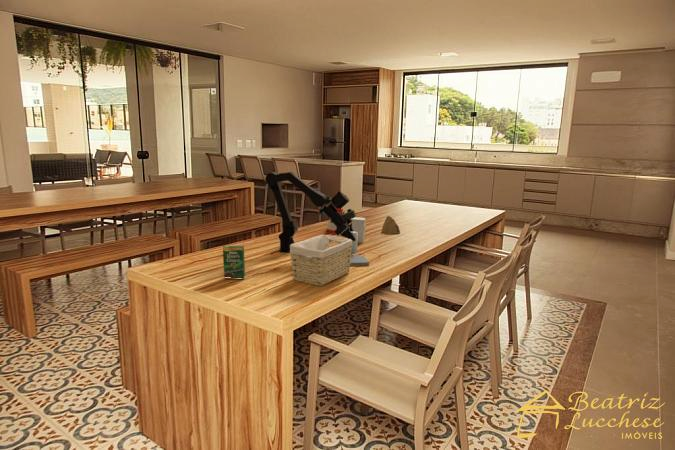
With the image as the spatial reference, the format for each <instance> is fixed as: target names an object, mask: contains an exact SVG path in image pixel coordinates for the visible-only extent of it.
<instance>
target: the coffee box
mask: <svg viewBox="0 0 675 450" xmlns="http://www.w3.org/2000/svg"><path fill="white" fill-rule="evenodd" d="M244 246H245V245H223V246H222V258H223V260H222V261H223V278H224V277H231V278H244V277H246V271H245V270H246V268H245V266H246V265H245V247H244ZM244 279H245V278H244Z"/></svg>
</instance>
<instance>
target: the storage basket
mask: <svg viewBox="0 0 675 450" xmlns="http://www.w3.org/2000/svg"><path fill="white" fill-rule="evenodd" d="M330 243H335V244H336V245H332V246H330ZM351 250H352V240H351V239H348V238H346V237H340V236H334V235H329V234H328V235H327V234H320V235H319V234H318V235H316V236H312V237H310V238H307V239H304V240H301V241H297V242H294V244H291V245H290V252H289V254H290V260H291V270H292V278H293V280H294V281H298V282H301V283H305V284H310V285H314V286H321V287H323V286H325V285H327V284H328V283H330V282H333V281H334V280H336V279H339V278H340V277H342V276H344V275H347V274H348V273H349V272H350V269H351V268H350V267H351V266H350V259H351V255H352V254H351Z"/></svg>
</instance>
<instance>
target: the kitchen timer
mask: <svg viewBox="0 0 675 450" xmlns="http://www.w3.org/2000/svg"><path fill="white" fill-rule="evenodd" d="M334 207H335V206H334ZM335 208H336V207H335ZM336 209H337V208H336ZM337 210H338V211H339V212H342V213H343V214H344V213H346V212H345V210H344V209H343V208H341V209H340V208H338V209H337ZM330 221H331V220H330V219H329V220H328V223H327V227H326V231H327V233H331V234H332V233H333V234H335V230H336V226H335V225H334V224H333V222H332V223H331V222H330Z"/></svg>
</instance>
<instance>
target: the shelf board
mask: <svg viewBox="0 0 675 450" xmlns="http://www.w3.org/2000/svg"><path fill="white" fill-rule="evenodd" d="M351 266H352V267H356V266H357V267H358V266H361V267H363V266H370V262H369V260H368V259H367V258H366V256H364V255H363V254H351V259H350V267H351Z"/></svg>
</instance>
